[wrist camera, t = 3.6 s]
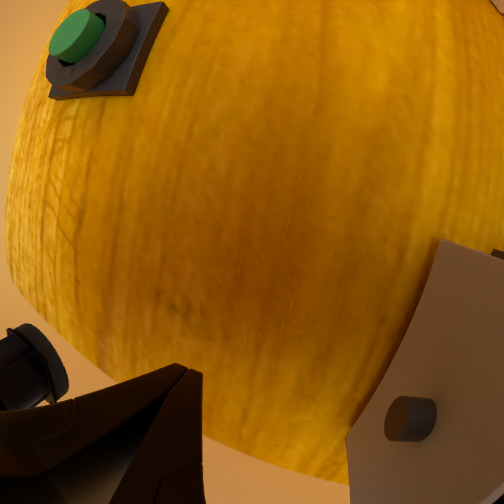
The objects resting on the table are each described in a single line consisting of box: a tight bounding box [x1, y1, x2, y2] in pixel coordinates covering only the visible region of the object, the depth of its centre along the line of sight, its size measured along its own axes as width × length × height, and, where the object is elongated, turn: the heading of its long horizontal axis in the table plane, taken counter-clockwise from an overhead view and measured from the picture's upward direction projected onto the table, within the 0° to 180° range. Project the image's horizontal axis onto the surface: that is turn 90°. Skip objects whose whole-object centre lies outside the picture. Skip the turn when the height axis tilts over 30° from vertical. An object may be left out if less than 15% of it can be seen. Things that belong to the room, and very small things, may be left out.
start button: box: [49, 9, 105, 63], centre depth 8 cm, size 3×3×2 cm
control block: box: [46, 0, 169, 100], centre depth 10 cm, size 6×7×2 cm
